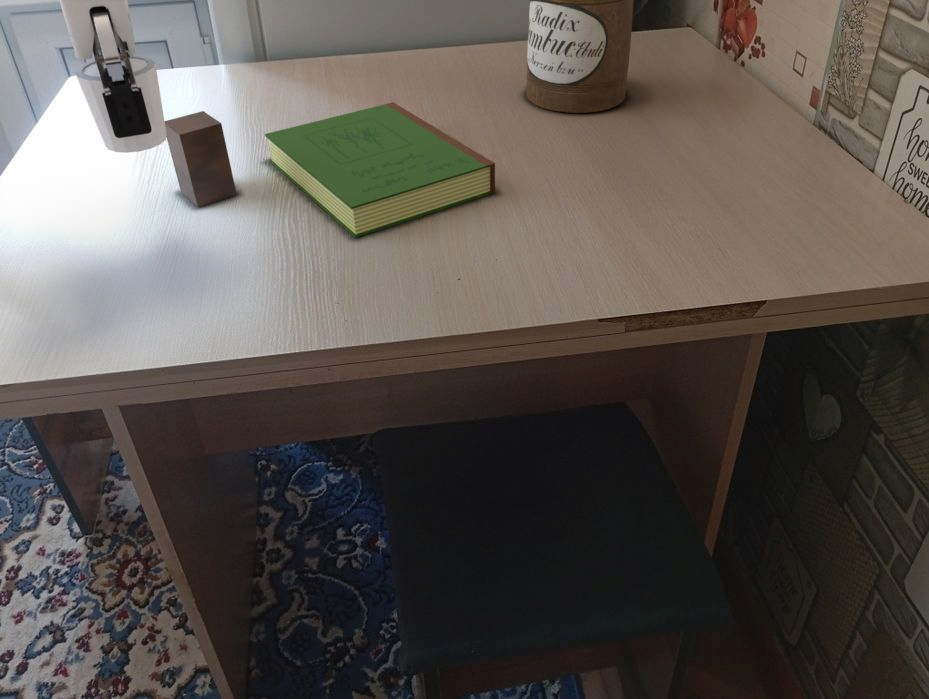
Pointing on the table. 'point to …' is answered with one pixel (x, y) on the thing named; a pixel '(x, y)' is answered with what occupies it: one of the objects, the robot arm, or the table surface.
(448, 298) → the table surface
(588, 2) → the wooden container
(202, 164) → the walnut block
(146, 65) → the white cup
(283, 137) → the hardcover book
